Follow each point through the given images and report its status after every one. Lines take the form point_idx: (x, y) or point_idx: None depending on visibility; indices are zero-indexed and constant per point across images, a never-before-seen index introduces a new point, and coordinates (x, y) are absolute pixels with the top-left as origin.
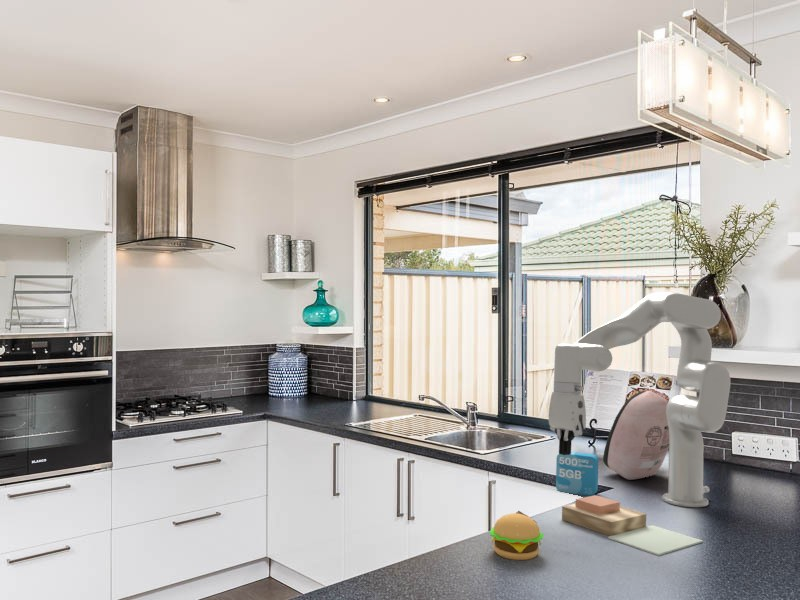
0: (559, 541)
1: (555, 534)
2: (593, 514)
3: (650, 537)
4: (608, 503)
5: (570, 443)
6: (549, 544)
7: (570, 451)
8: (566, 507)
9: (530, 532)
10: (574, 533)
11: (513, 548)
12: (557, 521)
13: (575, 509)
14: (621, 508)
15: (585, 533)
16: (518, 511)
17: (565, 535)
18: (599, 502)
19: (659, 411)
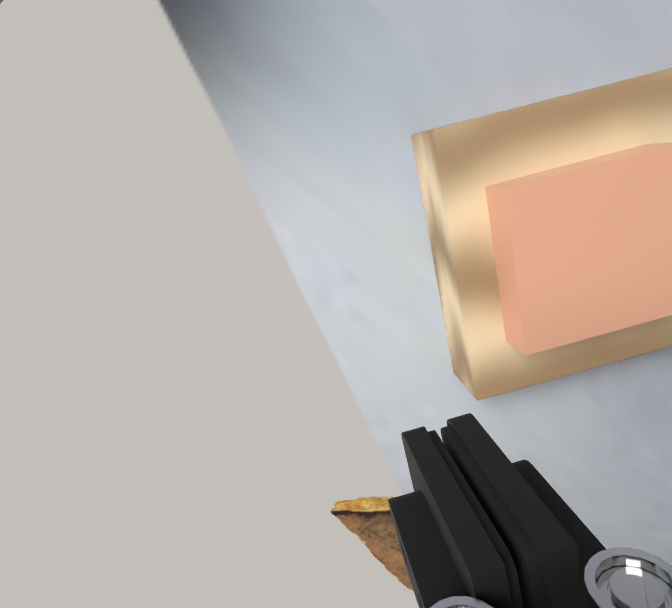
0: (640, 502)
1: (582, 482)
2: (638, 332)
3: None
4: (665, 229)
5: (593, 550)
6: (645, 541)
7: (524, 464)
8: (498, 390)
9: None
10: (605, 415)
11: None
12: (465, 401)
13: (542, 367)
14: (633, 112)
15: (624, 377)
16: (338, 515)
17: (606, 455)
18: (629, 267)
19: None
